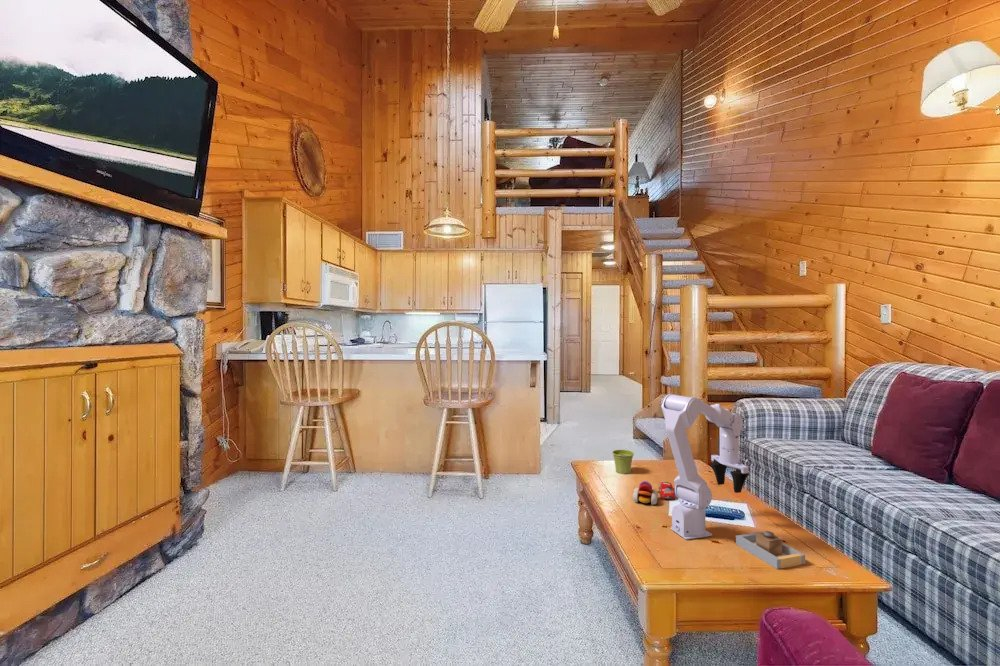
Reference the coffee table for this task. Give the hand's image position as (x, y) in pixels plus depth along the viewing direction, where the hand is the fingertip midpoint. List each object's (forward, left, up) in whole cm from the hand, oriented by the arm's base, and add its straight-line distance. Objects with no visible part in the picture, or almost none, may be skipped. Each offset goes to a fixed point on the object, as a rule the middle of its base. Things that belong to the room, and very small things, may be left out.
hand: (729, 488), depth 151 cm
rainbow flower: (-18, +21, -11) cm, 30 cm away
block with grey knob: (-6, -22, -10) cm, 25 cm away
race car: (-6, +25, -11) cm, 28 cm away
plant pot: (-9, +53, -11) cm, 55 cm away
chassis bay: (-6, -22, -10) cm, 25 cm away
